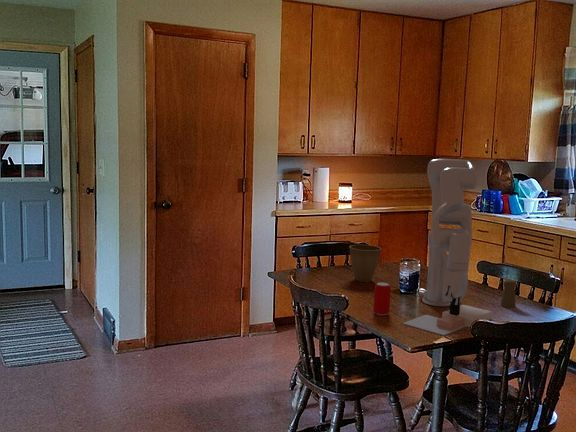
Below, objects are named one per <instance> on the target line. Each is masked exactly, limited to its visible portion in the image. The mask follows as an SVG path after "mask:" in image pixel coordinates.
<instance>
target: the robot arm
mask: <svg viewBox="0 0 576 432" xmlns="http://www.w3.org/2000/svg"><path fill="white" fill-rule="evenodd" d="M426 172H427V179H428V183H429V186H430V189H431V221H430V231H429V232H428V236H427V240H428V241H427V243H428V269H427V280H426V281H427V282H426V289H424V288H419V291H418V294H420V295H422V296H423V297H422V298H421V299H422V302H423V303H424V304H426V305H429V306H433V307H434V306H435V307H449V310H450V314H452V315H455V316H457V315H459V313H460V305H462V298H464V297H465V295H466V294H467V292H468V283H469V275H468V274H469V270H470V269H469V268H470V266H469V265H470V256H471V254H470V253H471V248H472V243H473V219H472V218H473V214H472V208H471V206H470V205H469V204H468V203H466V202H465V198H464V190H474V189H476V188H477V186H478V183H479V176H478V175H479V174H478V172H477V170H476V167H475V166H474V164H473V163H472V162H471V160H469V159H459V158H458V159H457V158H435V159H431V160H430V161H429V162H428V164H427V171H426ZM441 225H442V226H457V227H458V228H454V227H453V228H452V227H440V226H441ZM447 252H448V253H447Z"/></svg>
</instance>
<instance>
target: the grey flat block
mask: <svg viewBox="0 0 576 432" xmlns="http://www.w3.org/2000/svg"><path fill="white" fill-rule="evenodd" d="M459 305H460V313H459V315H457V317H461V318H464V325H466V327H467V328H470V325H471V323H472V322H473V321H475V320H477V319H487V320H488V321H489V320H492V311H491V310H487V309H486V310H485V309H483V308H479V307H474V306H471V305H467V304H459ZM441 314H442V315H441V318H442V317H445V316H447V315H452V314H450V309H448V310H444V311H442V312H441ZM453 316H455V315H453Z"/></svg>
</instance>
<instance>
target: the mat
mask: <svg viewBox="0 0 576 432" xmlns="http://www.w3.org/2000/svg"><path fill="white" fill-rule="evenodd" d="M440 318H441V317H436V316H432V315H428V314H424V315H421V316H418V317H416V318H415V317H414V318H413V319H410V320H407V321H405V322H403V323H402V324H403V325H405V326H408V327H411V328H416V329H419V330H422V331H425V332H429V333H432V334H436V335H440V336H443V337H445V336H447V335H449V334H451V333H454V332H456V331H459V330H461V329H463V328H465V327H466V325H462V326H460V327H458V328H455V329H453V330H449V329H446V328H442V327H438V326H437V319H440Z"/></svg>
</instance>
